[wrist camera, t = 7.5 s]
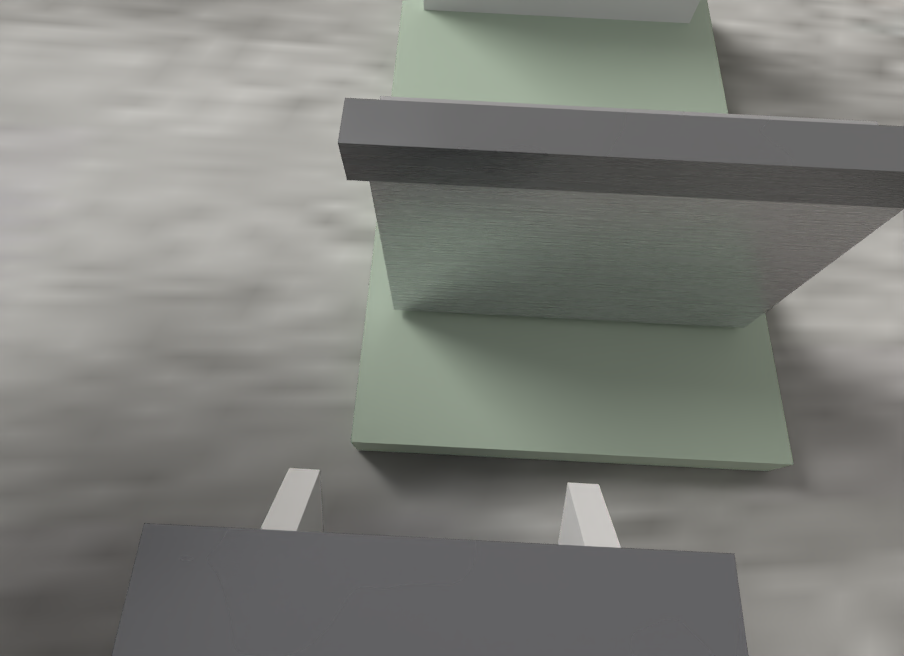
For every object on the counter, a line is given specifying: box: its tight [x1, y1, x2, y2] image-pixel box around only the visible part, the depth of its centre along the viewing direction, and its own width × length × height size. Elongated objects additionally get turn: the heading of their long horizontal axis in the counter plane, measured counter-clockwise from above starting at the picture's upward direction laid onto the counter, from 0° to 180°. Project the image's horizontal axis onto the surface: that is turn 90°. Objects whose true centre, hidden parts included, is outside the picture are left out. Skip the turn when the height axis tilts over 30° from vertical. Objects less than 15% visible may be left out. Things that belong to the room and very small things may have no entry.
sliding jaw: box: [338, 96, 904, 328], centre depth 15 cm, size 13×2×8 cm, turn 87°
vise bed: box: [351, 0, 794, 471], centre depth 18 cm, size 14×22×11 cm, turn 177°
